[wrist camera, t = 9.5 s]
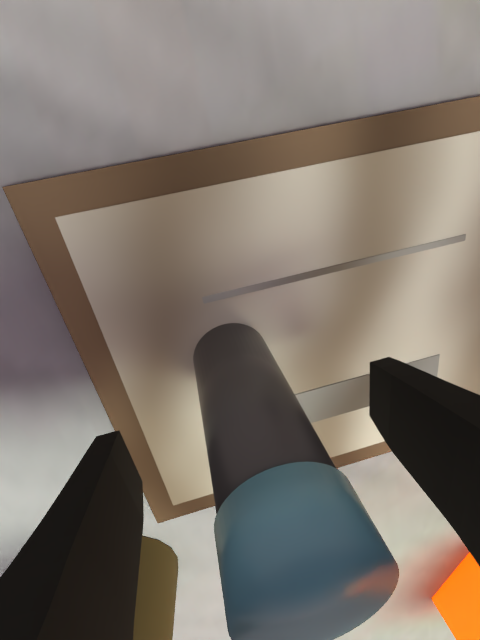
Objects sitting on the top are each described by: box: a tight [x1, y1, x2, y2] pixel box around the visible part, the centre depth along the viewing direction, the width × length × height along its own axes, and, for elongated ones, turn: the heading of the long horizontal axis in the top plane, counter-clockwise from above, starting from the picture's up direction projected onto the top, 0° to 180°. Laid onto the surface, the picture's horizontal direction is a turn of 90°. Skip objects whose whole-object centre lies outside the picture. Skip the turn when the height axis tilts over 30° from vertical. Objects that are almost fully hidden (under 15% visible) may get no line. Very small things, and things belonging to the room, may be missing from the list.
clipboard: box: [3, 96, 480, 523], centre depth 13 cm, size 20×15×1 cm
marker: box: [193, 323, 399, 640], centre depth 9 cm, size 3×3×8 cm
